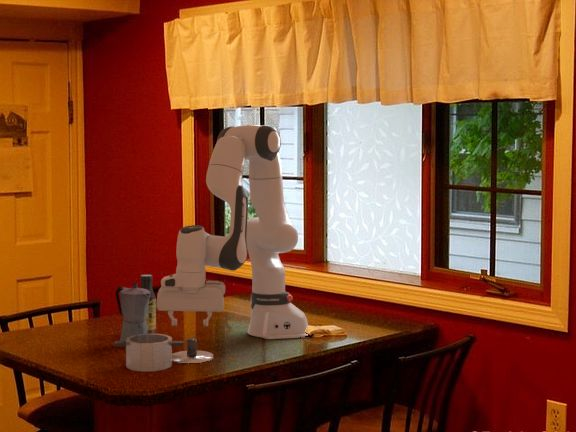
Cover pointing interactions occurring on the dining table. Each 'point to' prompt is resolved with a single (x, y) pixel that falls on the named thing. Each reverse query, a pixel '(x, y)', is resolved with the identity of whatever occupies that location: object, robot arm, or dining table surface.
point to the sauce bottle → (151, 314)
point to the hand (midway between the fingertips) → (190, 325)
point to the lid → (191, 354)
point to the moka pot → (133, 310)
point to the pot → (148, 351)
